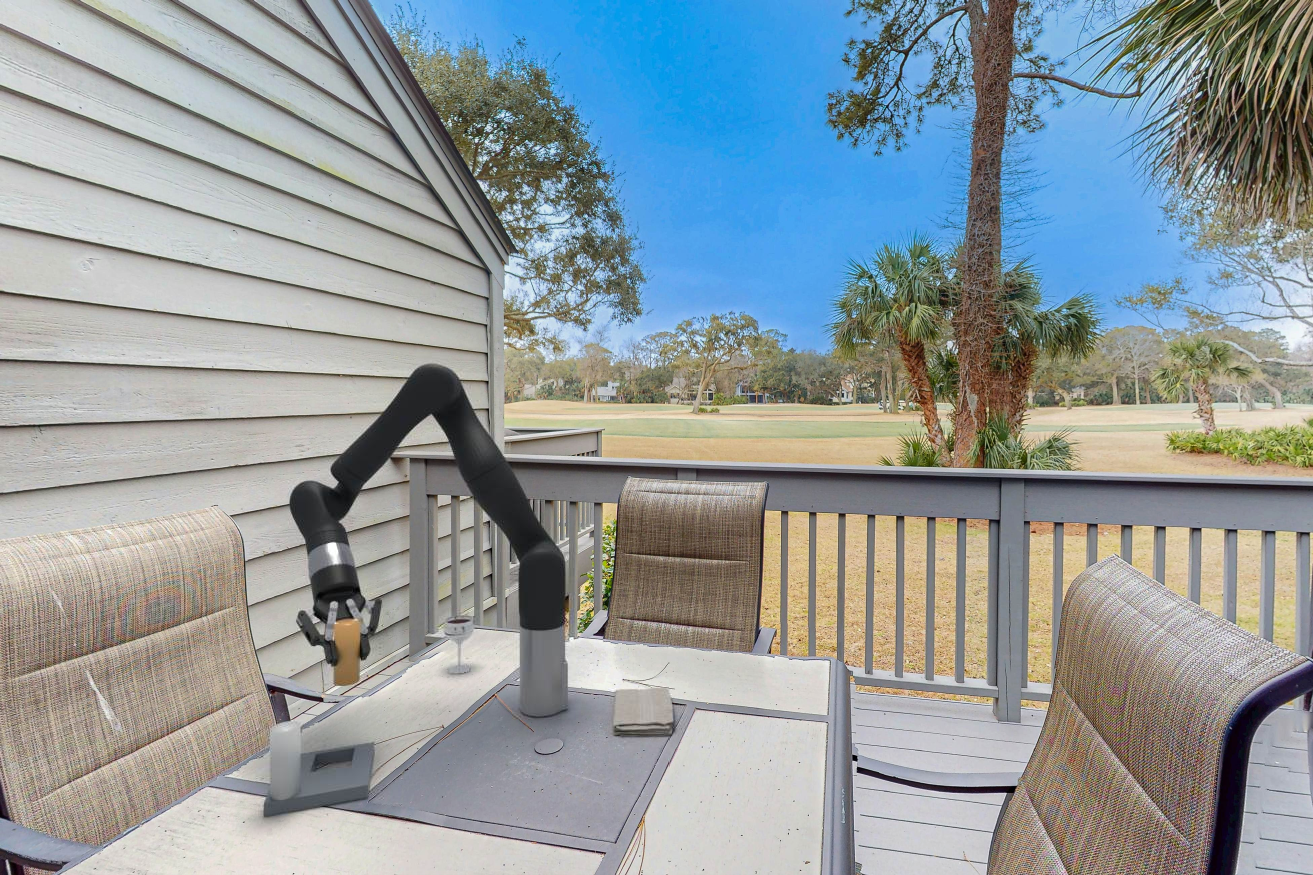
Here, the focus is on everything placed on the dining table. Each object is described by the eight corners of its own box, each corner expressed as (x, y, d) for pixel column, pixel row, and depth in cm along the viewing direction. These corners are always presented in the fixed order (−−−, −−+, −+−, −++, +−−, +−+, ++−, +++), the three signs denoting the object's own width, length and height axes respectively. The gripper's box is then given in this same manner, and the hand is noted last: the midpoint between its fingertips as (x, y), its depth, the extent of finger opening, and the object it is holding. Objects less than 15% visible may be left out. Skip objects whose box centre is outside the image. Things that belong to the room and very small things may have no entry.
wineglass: (461, 677, 144) (461, 625, 144) (437, 673, 146) (437, 621, 146) (480, 666, 150) (480, 616, 150) (456, 662, 153) (456, 613, 152)
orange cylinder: (360, 675, 109) (361, 617, 109) (358, 684, 105) (359, 624, 105) (335, 677, 108) (335, 619, 108) (331, 687, 104) (332, 627, 104)
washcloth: (612, 740, 117) (612, 724, 117) (612, 698, 135) (612, 683, 134) (676, 738, 117) (676, 722, 117) (668, 697, 135) (668, 682, 135)
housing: (374, 753, 111) (374, 685, 111) (367, 797, 98) (367, 720, 98) (283, 767, 106) (282, 697, 106) (263, 816, 93) (262, 736, 93)
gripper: (291, 567, 107) (305, 659, 98) (379, 557, 116) (399, 641, 107) (285, 591, 112) (298, 682, 102) (370, 580, 121) (389, 662, 112)
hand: (350, 660), depth 105 cm, fingers closed on orange cylinder, 4 cm apart
